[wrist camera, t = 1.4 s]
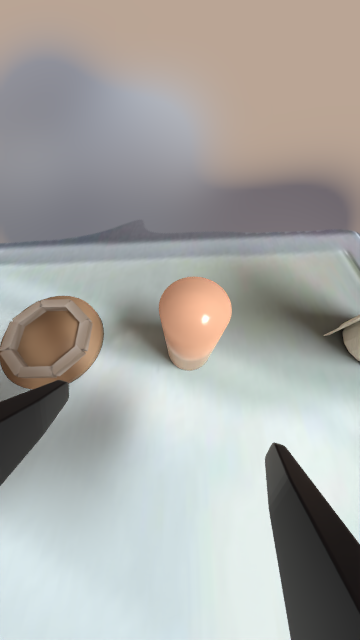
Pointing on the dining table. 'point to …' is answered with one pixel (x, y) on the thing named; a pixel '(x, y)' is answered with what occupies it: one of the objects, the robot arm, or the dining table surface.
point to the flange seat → (51, 342)
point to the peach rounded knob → (193, 320)
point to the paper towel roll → (351, 336)
